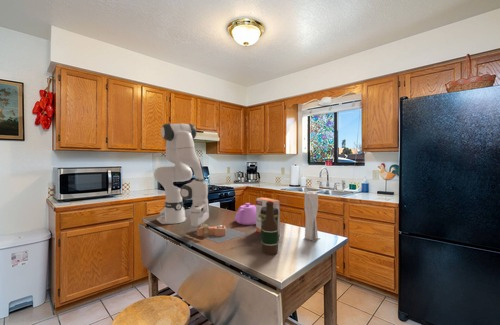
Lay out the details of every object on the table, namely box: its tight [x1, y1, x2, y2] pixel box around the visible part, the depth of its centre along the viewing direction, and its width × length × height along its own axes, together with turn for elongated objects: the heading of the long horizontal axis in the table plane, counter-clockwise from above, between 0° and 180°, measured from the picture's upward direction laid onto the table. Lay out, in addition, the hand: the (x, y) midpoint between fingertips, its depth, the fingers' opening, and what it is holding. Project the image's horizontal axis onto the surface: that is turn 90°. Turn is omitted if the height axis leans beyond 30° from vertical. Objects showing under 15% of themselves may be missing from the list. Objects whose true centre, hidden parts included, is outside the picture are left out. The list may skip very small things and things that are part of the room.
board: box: [192, 227, 248, 244], centre depth 140 cm, size 24×21×1 cm
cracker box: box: [255, 196, 281, 237], centre depth 140 cm, size 14×6×21 cm, turn 42°
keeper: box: [203, 223, 210, 238], centre depth 136 cm, size 6×3×7 cm, turn 17°
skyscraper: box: [303, 188, 321, 243], centre depth 133 cm, size 8×8×28 cm
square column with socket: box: [196, 225, 227, 237], centre depth 138 cm, size 16×6×4 cm, turn 94°
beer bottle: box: [261, 201, 279, 256], centre depth 115 cm, size 8×8×24 cm
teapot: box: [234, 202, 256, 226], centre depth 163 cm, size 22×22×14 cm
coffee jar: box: [260, 206, 280, 242], centre depth 129 cm, size 10×8×19 cm
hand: (200, 230), depth 141 cm, fingers closed
